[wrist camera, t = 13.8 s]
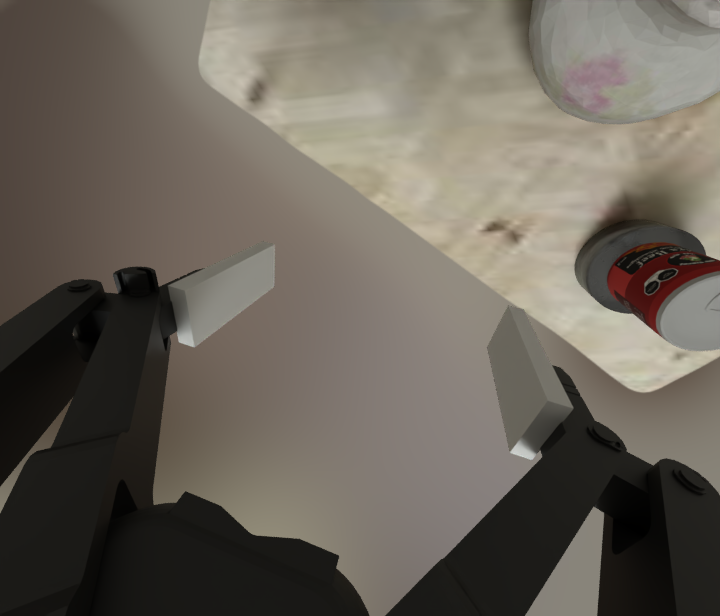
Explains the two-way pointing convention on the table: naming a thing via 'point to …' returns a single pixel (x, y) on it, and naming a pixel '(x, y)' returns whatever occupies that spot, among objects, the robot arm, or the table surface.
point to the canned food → (671, 293)
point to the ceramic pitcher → (625, 56)
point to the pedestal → (616, 242)
